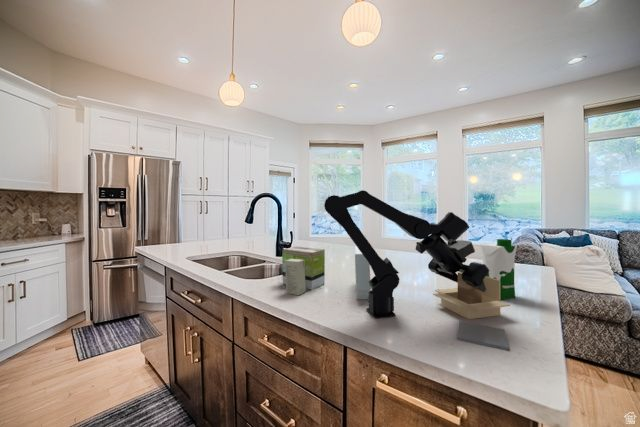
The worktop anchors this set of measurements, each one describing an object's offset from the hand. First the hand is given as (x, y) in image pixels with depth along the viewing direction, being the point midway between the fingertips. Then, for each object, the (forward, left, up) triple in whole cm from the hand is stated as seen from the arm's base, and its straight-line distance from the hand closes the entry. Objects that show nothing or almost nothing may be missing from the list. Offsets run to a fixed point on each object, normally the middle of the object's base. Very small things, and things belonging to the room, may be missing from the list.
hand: (471, 286), depth 80 cm
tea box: (-44, +41, -7) cm, 60 cm away
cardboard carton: (-2, 0, -7) cm, 8 cm away
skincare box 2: (-24, +27, -7) cm, 37 cm away
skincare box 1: (-49, +31, -7) cm, 58 cm away
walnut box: (-1, 0, -7) cm, 7 cm away
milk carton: (+19, +8, -7) cm, 22 cm away
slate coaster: (-11, -14, -7) cm, 19 cm away
